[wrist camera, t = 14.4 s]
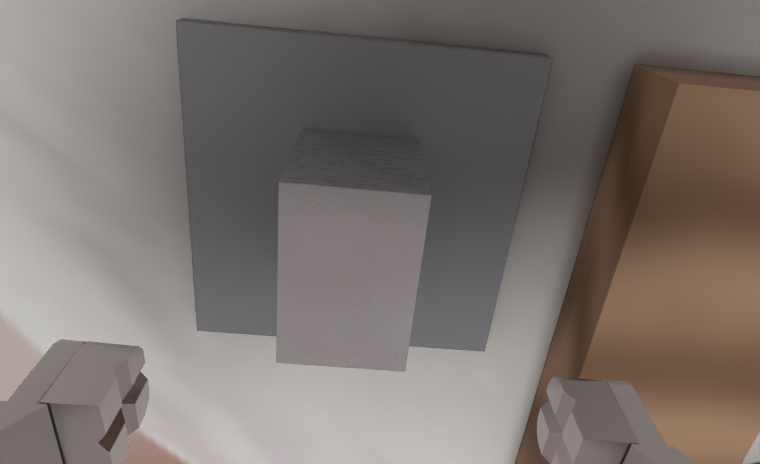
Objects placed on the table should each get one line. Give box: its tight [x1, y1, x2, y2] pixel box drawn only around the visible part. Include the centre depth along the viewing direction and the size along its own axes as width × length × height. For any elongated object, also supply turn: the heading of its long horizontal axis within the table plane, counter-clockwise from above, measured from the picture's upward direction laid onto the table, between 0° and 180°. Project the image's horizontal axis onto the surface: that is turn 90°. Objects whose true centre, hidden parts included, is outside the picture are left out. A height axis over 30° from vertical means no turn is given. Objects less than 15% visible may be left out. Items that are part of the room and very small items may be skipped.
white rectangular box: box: [276, 128, 432, 372], centre depth 18 cm, size 6×4×5 cm, turn 174°
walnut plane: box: [515, 65, 760, 464], centre depth 19 cm, size 20×8×8 cm, turn 174°
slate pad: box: [176, 19, 552, 351], centre depth 20 cm, size 12×12×1 cm
